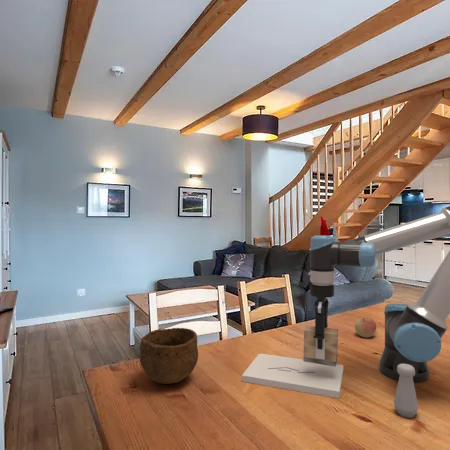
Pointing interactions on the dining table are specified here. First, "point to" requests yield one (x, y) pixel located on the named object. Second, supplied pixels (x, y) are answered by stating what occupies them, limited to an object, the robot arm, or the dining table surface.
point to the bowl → (169, 354)
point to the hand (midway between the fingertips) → (321, 354)
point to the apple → (365, 327)
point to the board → (295, 375)
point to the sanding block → (330, 346)
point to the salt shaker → (406, 392)
